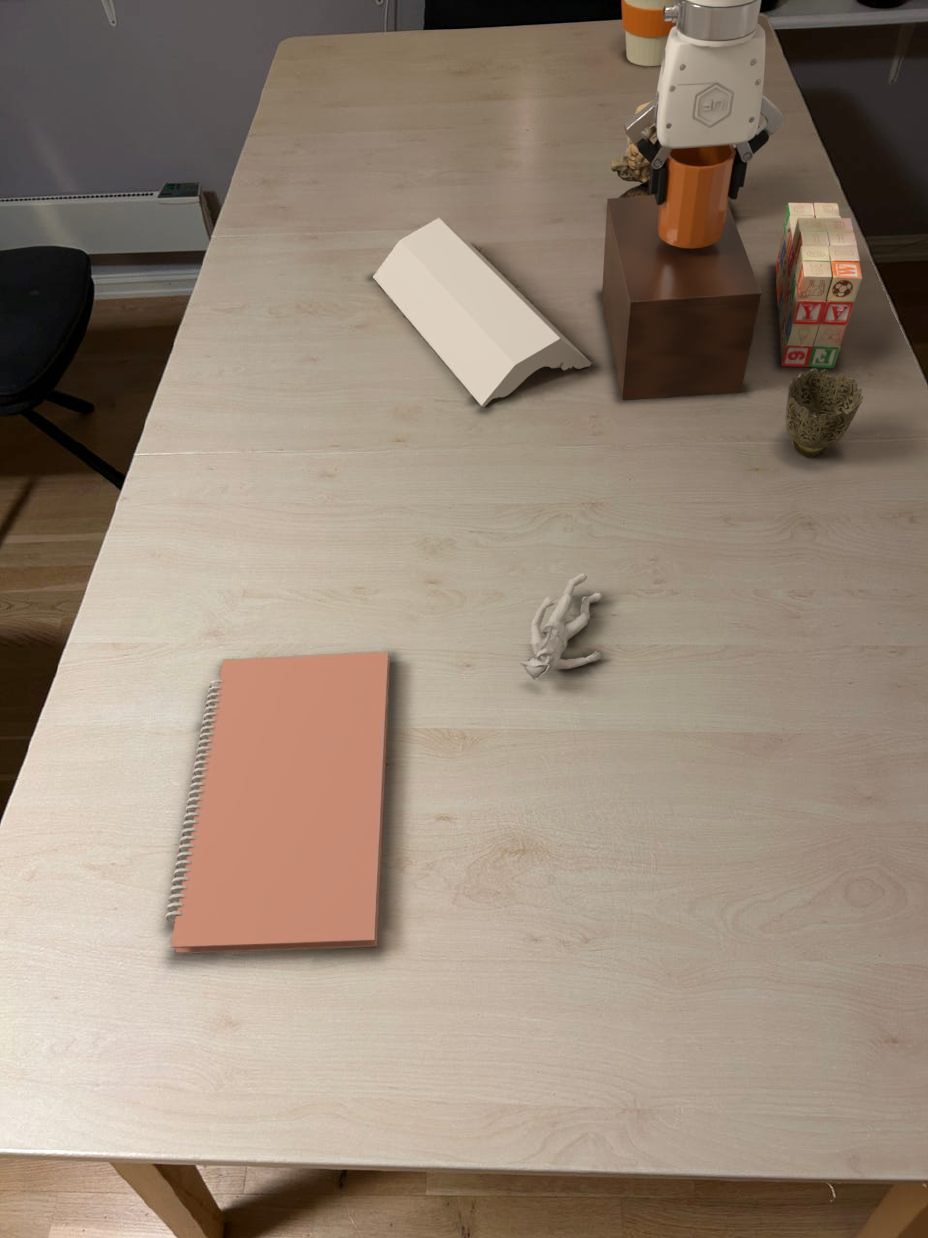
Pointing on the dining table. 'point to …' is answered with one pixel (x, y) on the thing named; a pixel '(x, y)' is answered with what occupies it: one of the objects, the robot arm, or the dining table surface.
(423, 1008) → the dining table surface
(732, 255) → the dark brown wooden block
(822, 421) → the cup
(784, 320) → the stack of blocks
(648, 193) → the owl figurine
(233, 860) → the notebook
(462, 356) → the molding piece
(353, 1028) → the dining table surface
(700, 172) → the cup
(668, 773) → the dining table surface
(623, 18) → the reusable coffee cup
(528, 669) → the grey humanoid figurine
